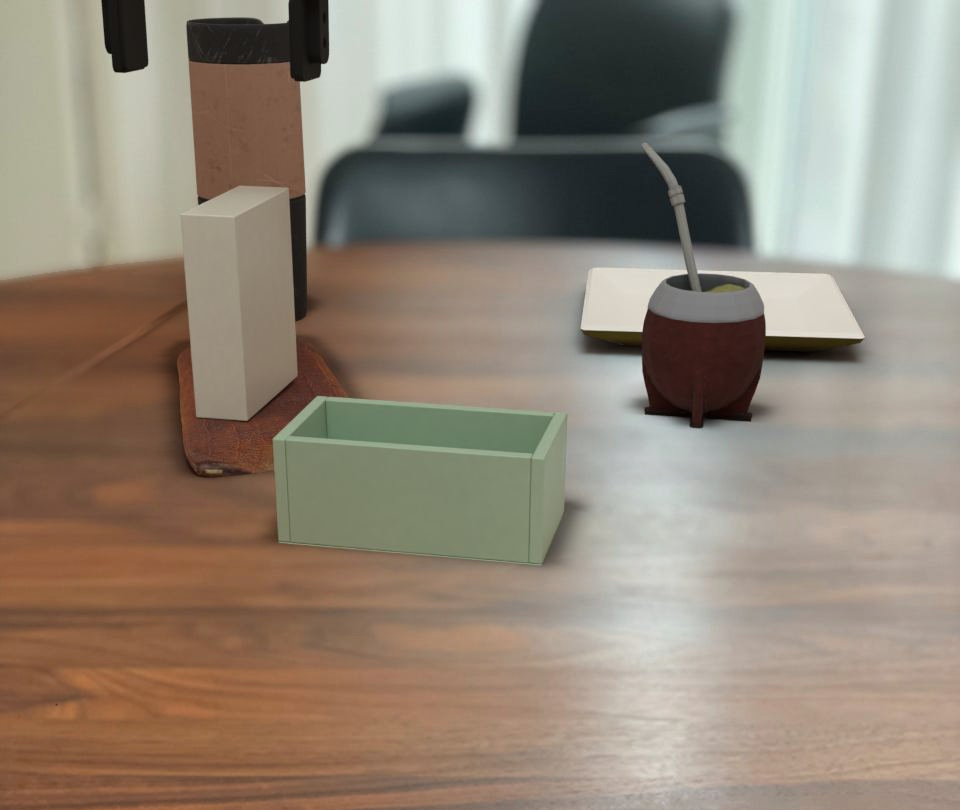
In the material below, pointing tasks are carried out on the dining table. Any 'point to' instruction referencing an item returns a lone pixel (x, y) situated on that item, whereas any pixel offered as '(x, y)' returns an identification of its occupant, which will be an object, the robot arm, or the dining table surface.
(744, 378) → the mate gourd
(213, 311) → the rectangular block
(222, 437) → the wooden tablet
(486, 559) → the bin
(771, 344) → the plate
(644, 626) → the dining table surface
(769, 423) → the dining table surface
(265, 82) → the travel mug
